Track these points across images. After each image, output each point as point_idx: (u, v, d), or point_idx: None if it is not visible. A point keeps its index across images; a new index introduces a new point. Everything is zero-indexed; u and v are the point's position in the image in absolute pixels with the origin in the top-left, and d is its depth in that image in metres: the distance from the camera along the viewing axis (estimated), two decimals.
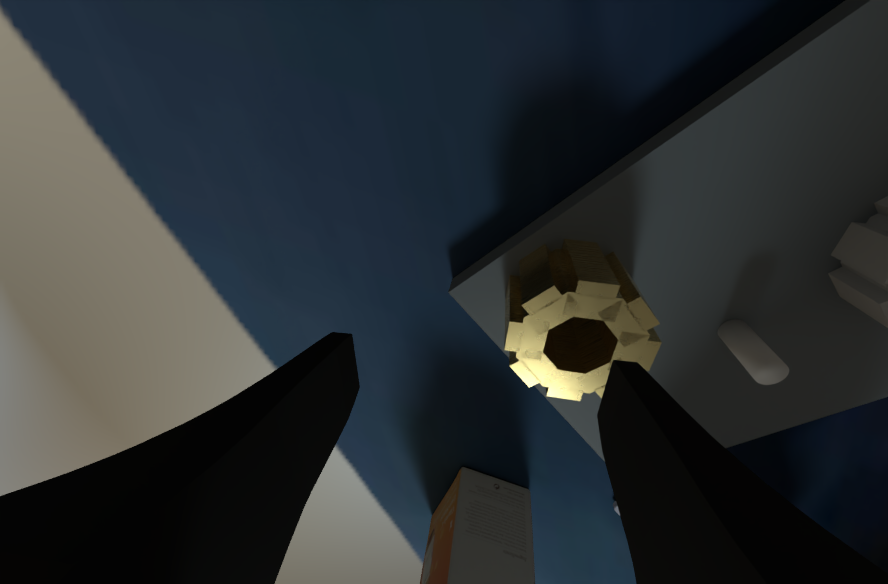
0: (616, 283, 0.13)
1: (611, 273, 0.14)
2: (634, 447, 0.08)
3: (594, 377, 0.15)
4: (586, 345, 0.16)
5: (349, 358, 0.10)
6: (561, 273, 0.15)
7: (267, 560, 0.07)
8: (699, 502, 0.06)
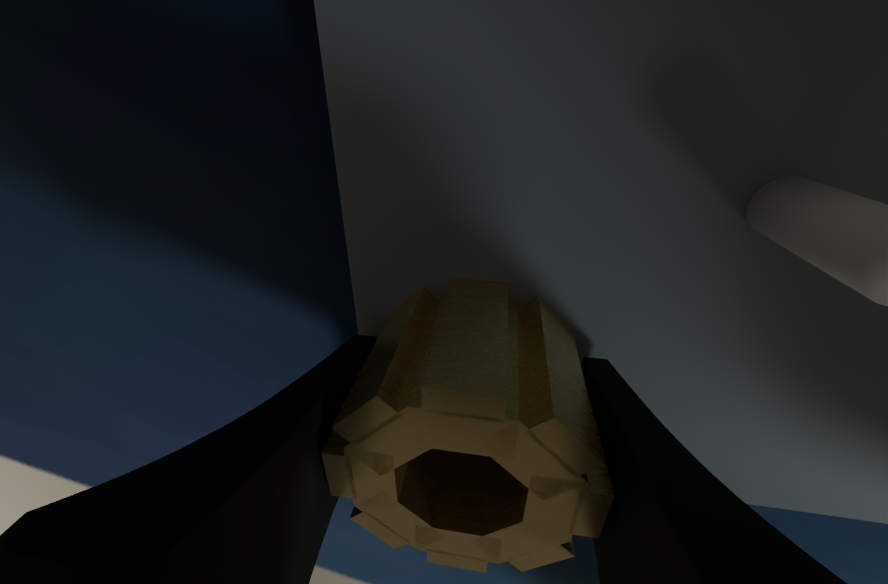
0: (375, 392, 0.07)
1: (389, 362, 0.07)
2: None
3: (542, 518, 0.07)
4: None
5: None
6: None
7: (300, 566, 0.07)
8: (648, 495, 0.06)
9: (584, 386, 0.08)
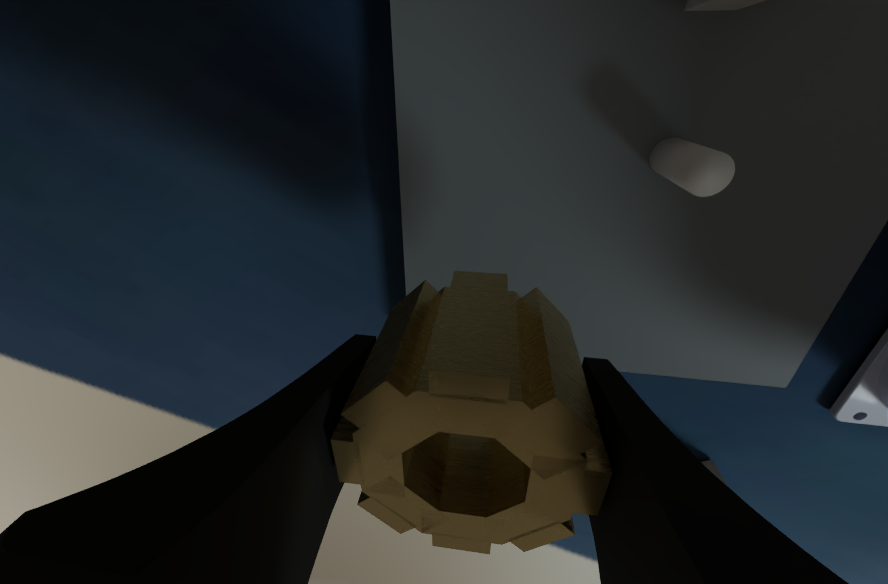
0: (384, 378, 0.07)
1: (395, 351, 0.08)
2: None
3: (543, 498, 0.08)
4: None
5: None
6: None
7: (299, 566, 0.07)
8: (649, 495, 0.06)
9: (582, 372, 0.08)
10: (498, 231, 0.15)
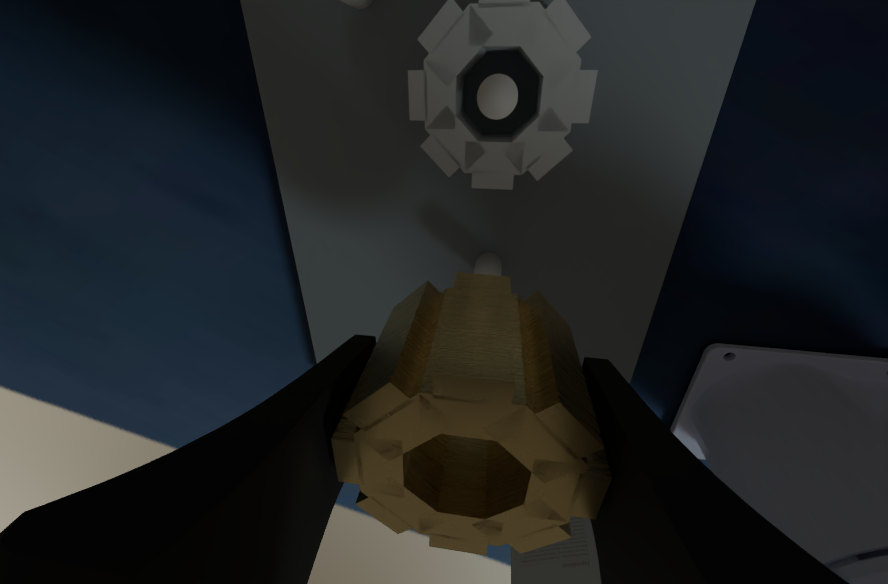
0: (388, 379, 0.07)
1: (399, 352, 0.07)
2: None
3: (542, 501, 0.08)
4: None
5: None
6: None
7: (299, 566, 0.07)
8: (650, 495, 0.06)
9: (583, 376, 0.08)
10: (376, 310, 0.19)
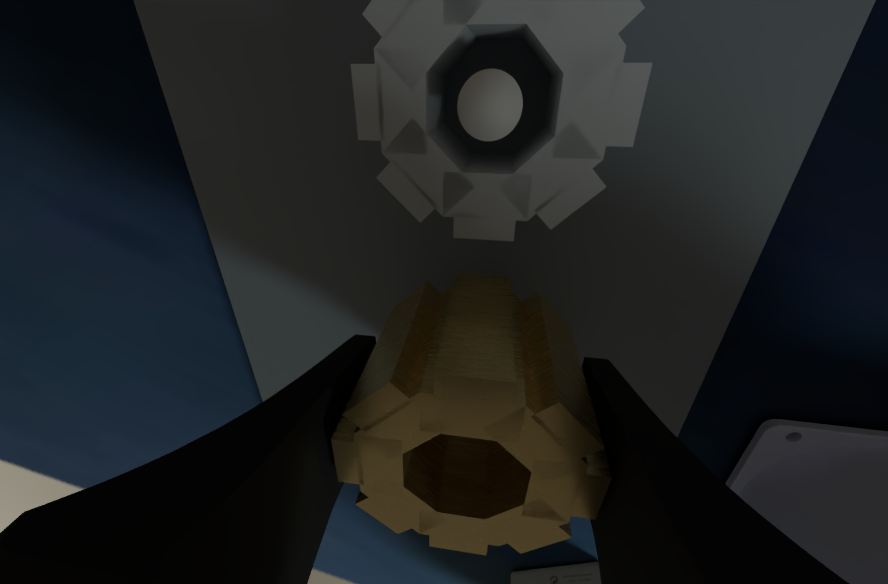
0: (387, 379, 0.07)
1: (399, 352, 0.07)
2: None
3: (542, 501, 0.08)
4: None
5: None
6: None
7: (299, 566, 0.07)
8: (650, 495, 0.06)
9: (583, 376, 0.08)
10: None
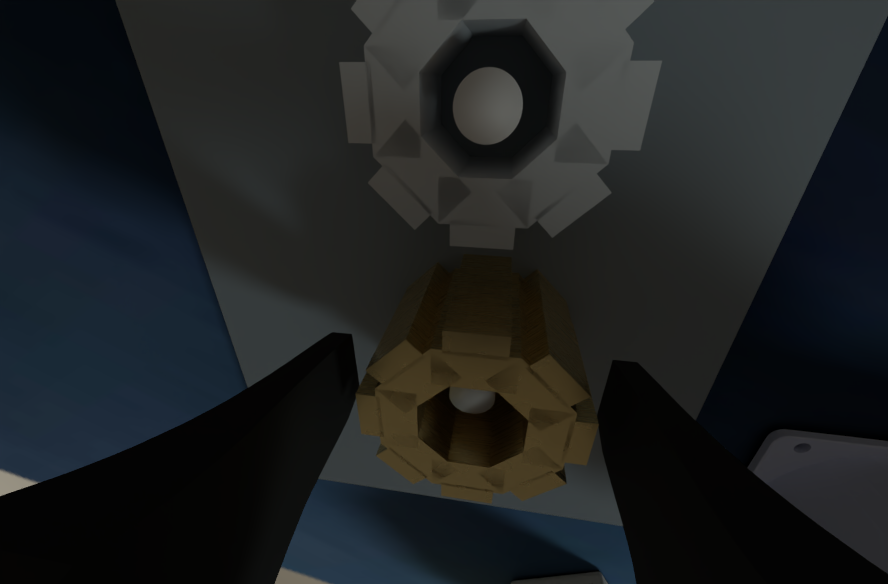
0: (403, 338, 0.08)
1: (413, 318, 0.09)
2: (634, 447, 0.08)
3: (539, 448, 0.09)
4: None
5: (348, 358, 0.10)
6: None
7: (267, 560, 0.07)
8: (699, 502, 0.06)
9: (575, 341, 0.09)
10: None
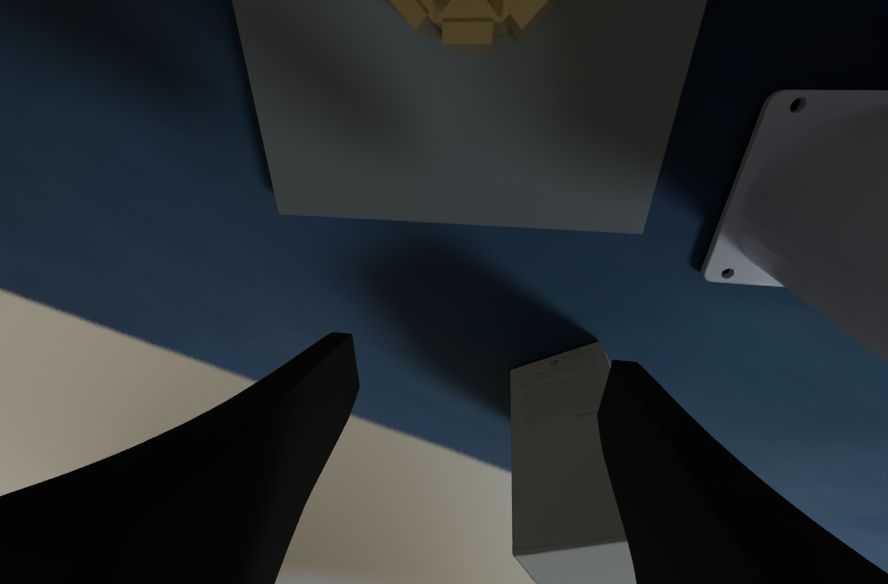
0: None
1: None
2: (634, 447, 0.08)
3: None
4: None
5: (349, 358, 0.10)
6: None
7: (267, 560, 0.07)
8: (699, 502, 0.06)
9: None
10: (336, 59, 0.15)
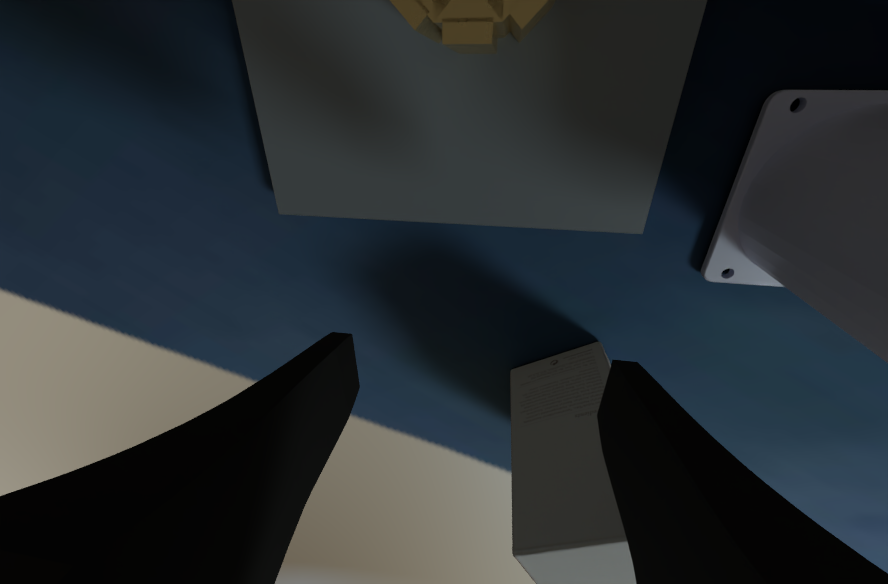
0: None
1: None
2: (634, 447, 0.08)
3: None
4: None
5: (349, 358, 0.10)
6: None
7: (267, 560, 0.07)
8: (699, 502, 0.06)
9: None
10: (336, 59, 0.15)
